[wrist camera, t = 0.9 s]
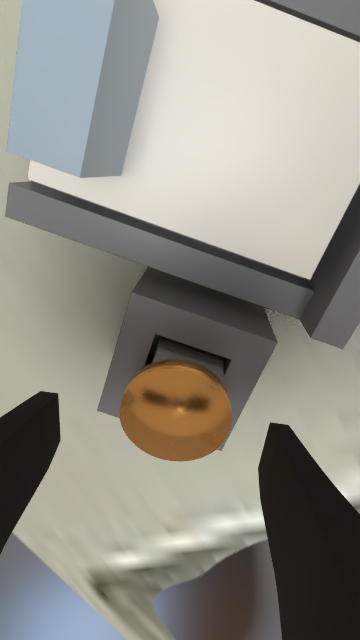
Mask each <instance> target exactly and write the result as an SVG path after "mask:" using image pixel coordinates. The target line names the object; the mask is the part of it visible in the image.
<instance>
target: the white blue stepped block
mask: <svg viewBox="0 0 360 640" xmlns="http://www.w3.org/2000/svg"><path fill="white" fill-rule="evenodd" d="M6 151H7V152H9V153H12V154H15V155H18V156H21V157H23V158H26V159H29V160H30V166H29V173H28V179H29V180H32V181H35V182H37V183H40V184H43V185H46V186H49V187H51V188H54V189H57V190H60V191H63V192H65V193H68V194H71V195H74V196H77V197H79V198H82V199H85V200H88V201H91V202H93V203H96V204H99V205H102V206H105V207H107V208H110V209H113V210H116V211H119V212H121V213H124V214H127V215H130V216H133V217H135V218H138V219H141V220H144V221H147V222H149V223H152V224H155V225H158V226H161V227H163V228H166V229H169V230H172V231H175V232H177V233H180V234H183V235H186V236H189V237H191V238H194V239H197V240H200V241H203V242H205V243H208V244H211V245H214V246H217V247H219V248H222V249H225V250H228V251H231V252H233V253H236V254H239V255H242V256H245V257H247V258H250V259H253V260H256V261H259V262H261V263H264V264H267V265H270V266H273V267H275V268H278V269H281V270H284V271H287V272H289V273H292V274H295V275H298V276H301V277H303V278H306V279H309V280H310V279H311V277H312V275H313V273H314V271H315V269H316V267H317V265H318V263H319V262H320V260H321V258H322V256H323V254H324V252H325V250H326V248H327V246H328V244H329V242H330V240H331V238H332V236H333V234H334V232H335V231H336V229H337V227H338V225H339V223H340V221H341V219H342V217H343V215H344V213H345V211H346V209H347V207H348V205H349V203H350V201H351V200H352V198H353V196H354V194H355V192H356V190H357V188H358V186H359V184H360V42H357V41H355V40H352V39H350V38H347V37H345V36H342V35H340V34H337V33H335V32H332V31H330V30H327V29H325V28H322V27H320V26H317V25H315V24H312V23H310V22H307V21H305V20H302V19H300V18H297V17H295V16H292V15H290V14H287V13H285V12H282V11H280V10H277V9H275V8H272V7H270V6H267V5H265V4H262V3H260V2H257V1H255V0H23V2H22V11H21V20H20V29H19V38H18V47H17V56H16V65H15V75H14V84H13V93H12V102H11V111H10V120H9V129H8V139H7V148H6Z"/></svg>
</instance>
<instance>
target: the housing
mask: <svg viewBox="0 0 360 640" xmlns="http://www.w3.org/2000/svg"><path fill="white" fill-rule="evenodd" d="M255 1H257V2H260V3H262V4H265V5H267V6H270V7H272V8H275V9H277V10H280V11H282V12H285V13H287V14H290V15H292V16H295V17H297V18H300V19H302V20H305V21H307V22H310V23H312V24H315V25H317V26H320V27H322V28H325V29H327V30H330V31H332V32H335V33H337V34H340V35H342V36H345V37H347V38H350V39H352V40H355V41H357V42H360V0H255ZM5 217H8V218H11V219H14V220H17V221H20V222H23V223H25V224H28V225H31V226H34V227H37V228H40V229H43V230H45V231H48V232H51V233H54V234H57V235H60V236H63V237H65V238H68V239H71V240H74V241H77V242H80V243H83V244H86V245H88V246H91V247H94V248H97V249H100V250H103V251H106V252H108V253H111V254H114V255H117V256H120V257H123V258H126V259H128V260H131V261H134V262H137V263H140V264H143V265H146V266H148V268H147V270H146V272H145V273H144V275H143V276H142V278H141V279H140V281H139V282H138V284H137V285H136V287H135V288H134V290H133V291H132V293H131V297H130V300H129V303H128V307H127V310H126V314H125V317H124V320H123V324H122V327H121V331H120V334H119V337H118V341H117V344H116V348H115V351H114V355H113V358H112V361H111V365H110V368H109V372H108V375H107V378H106V382H105V385H104V389H103V392H102V396H101V399H100V402H99V406H98V409H97V411H100V412H103V413H106V414H109V415H112V416H115V417H118V418H120V414H119V411H120V404H121V400H122V398H123V395H124V392H125V390H126V387H127V385H128V383H129V381H130V380H131V378H132V377H133V376H134V375H135V374H136V373H137V372H138V371H139V370H140V369H142V368H143V367H145V366H147V365H149V364H151V363H152V360H153V357H154V355H155V352H156V349H157V346H158V343H159V340H160V337H161V336H163V337H166V338H169V339H172V340H175V341H178V342H181V343H184V344H187V345H189V346H192V347H195V348H198V349H201V350H204V351H207V352H210V353H213V354H216V355H219V356H222V357H223V374H224V385H225V387H226V389H227V391H228V393H229V397H230V403H231V415H232V423H231V428H230V431H229V434H228V436H227V438H226V439H225V441H224V442H223V443H222V445H221V446H220V447H218V448H217V450H220V451H222V449H223V447H224V445H225V443H226V441H227V439H228V437H229V435H230V433H231V431H232V429H233V427H234V425H235V424H236V422H237V420H238V418H239V416H240V414H241V412H242V410H243V408H244V406H245V404H246V402H247V400H248V398H249V396H250V394H251V393H252V391H253V389H254V387H255V385H256V383H257V381H258V379H259V377H260V375H261V373H262V371H263V369H264V367H265V365H266V363H267V362H268V360H269V358H270V356H271V354H272V352H273V350H274V348H275V346H276V344H277V340H276V338H275V335H274V333H273V330H272V327H271V325H270V322H269V320H268V317H267V314H266V312H265V309H264V307H266V308H268V309H271V310H274V311H277V312H280V313H283V314H286V315H288V316H291V317H294V318H297V319H300V321H301V323H302V324H303V326H304V328H305V329H306V331H307V333H308V334H309V336H310V338H312V339H315V340H318V341H321V342H324V343H327V344H330V345H333V346H335V347H338V348H341V349H343V348H344V347H345V345H346V344H347V342H348V340H349V339H350V337H351V335H352V334H353V332H354V330H355V329H356V327H357V326H358V324H359V322H360V184H359V186H358V188H357V190H356V192H355V194H354V196H353V198H352V200H351V201H350V203H349V205H348V207H347V209H346V211H345V213H344V215H343V217H342V219H341V221H340V223H339V225H338V227H337V229H336V231H335V232H334V234H333V236H332V238H331V240H330V242H329V244H328V246H327V248H326V250H325V252H324V254H323V256H322V258H321V260H320V262H319V263H318V265H317V267H316V269H315V271H314V273H313V275H312V277H311V279H310V280H309V279H306V278H303V277H301V276H298V275H295V274H292V273H289V272H287V271H284V270H281V269H278V268H275V267H273V266H270V265H267V264H264V263H261V262H259V261H256V260H253V259H250V258H247V257H245V256H242V255H239V254H236V253H233V252H231V251H228V250H225V249H222V248H219V247H217V246H214V245H211V244H208V243H205V242H203V241H200V240H197V239H194V238H191V237H189V236H186V235H183V234H180V233H177V232H175V231H172V230H169V229H166V228H163V227H161V226H158V225H155V224H152V223H149V222H147V221H144V220H141V219H138V218H135V217H133V216H130V215H127V214H124V213H121V212H119V211H116V210H113V209H110V208H107V207H105V206H102V205H99V204H96V203H93V202H91V201H88V200H85V199H82V198H79V197H77V196H74V195H71V194H68V193H65V192H63V191H60V190H57V189H54V188H51V187H49V186H46V185H43V184H40V183H37V182H35V181H32V180H31V182H16V183H9V188H8V196H7V205H6V214H5Z"/></svg>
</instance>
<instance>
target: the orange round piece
mask: <svg viewBox="0 0 360 640" xmlns="http://www.w3.org/2000/svg"><path fill="white" fill-rule="evenodd" d="M119 414H120V421H121V425H122V427H123V430H124V431H125V433H126V435H127V436H128V438H129V439H130V440H131V441H132V442H133V443H134V444H135V445H136V446H137V447H138V448H140V449H141V450H143V451H144V452H146V453H148V454H150V455H152V456H154V457H157V458H160V459H164V460H170V461H189V460H195V459H199V458H201V457H204V456H206V455H208V454H210V453H212V452H213V451H215V450H216V449H217V448H218V447H220V446H221V445H222V443H223V442H224V441H225V439H226V438H227V436H228V434H229V431H230V428H231V423H232V415H231V403H230V397H229V393H228V391H227V389H226V387H225V385H224V374H223V357H222V356H219V355H216V354H213V353H210V352H207V351H204V350H201V349H198V348H195V347H192V346H189V345H187V344H184V343H181V342H178V341H175V340H172V339H169V338H166V337H163V336H161V337H160V340H159V343H158V346H157V349H156V352H155V355H154V357H153V360H152V363H151V364H149V365H147V366H145V367H143V368H142V369H140V370H139V371H138V372H137V373H136V374H135V375H134V376H133V377H132V378H131V380H130V381H129V383H128V385H127V387H126V390H125V392H124V395H123V398H122V400H121V404H120V411H119Z"/></svg>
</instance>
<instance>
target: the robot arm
mask: <svg viewBox="0 0 360 640" xmlns="http://www.w3.org/2000/svg"><path fill="white" fill-rule="evenodd" d="M59 442H60V421H59V401H58V393H50V392H43V391H40V392H39V393H37V394H35V395H34V396H32V397H31V398H29V399H28V400H26V401H25V402H23V403H22V404H20V405H19V406H17V407H16V408H14V409H13V410H11V411H10V412H8V413H6V414H5V415H3V416H2V417H0V554H1V552H2V549H3V547H4V546H5V544H6V542H7V540H8V538H9V536H10V534H11V533H12V531H13V529H14V527H15V526H16V524H17V522H18V520H19V519H20V517H21V515H22V514H23V512H24V510H25V508H26V507H27V505H28V503H29V502H30V500H31V498H32V496H33V495H34V493H35V491H36V489H37V488H38V486H39V484H40V482H41V481H42V479H43V477H44V475H45V474H46V472H47V470H48V468H49V466H50V464H51V462H52V459H53V457H54V455H55V452H56V450H57V447H58V445H59ZM258 473H259V488H260V499H261V505H262V510H263V516H264V521H265V526H266V531H267V537H268V542H269V547H270V552H271V557H272V562H273V567H274V573H275V579H276V585H277V592H278V602H279V612H280V621H281V631H282V640H360V514H359V513H358V512H357V511H356V510H355V508H354V507H353V506H352V505H351V504H350V503H349V502H348V501H347V499H346V498H345V497H344V496H343V495H342V494H341V493H340V491H339V490H338V489H337V488H336V487H335V486H334V484H333V483H332V482H331V481H330V479H329V478H328V477H327V476H326V474H325V473H324V472H323V471H322V469H321V468H320V467H319V466H318V464H317V463H316V462H315V460H314V459H313V458H312V456H311V455H310V454H309V452H308V451H307V450H306V448H305V447H304V445H303V444H302V443H301V441H300V440H299V439H298V437H297V436H296V435H295V433H294V432H293V430H292V429H291V428H290V426H289V425H284V424H277V423H270V425H269V429H268V432H267V436H266V440H265V444H264V448H263V452H262V455H261V459H260V463H259V467H258Z"/></svg>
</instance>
